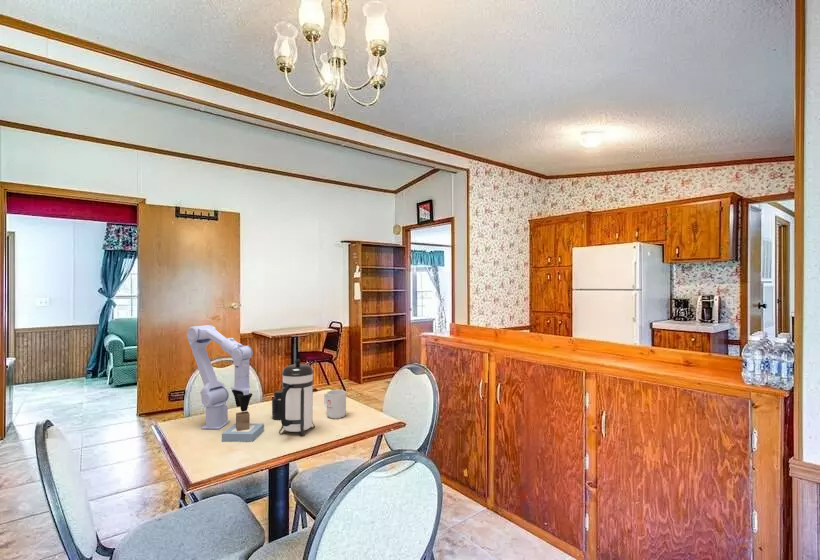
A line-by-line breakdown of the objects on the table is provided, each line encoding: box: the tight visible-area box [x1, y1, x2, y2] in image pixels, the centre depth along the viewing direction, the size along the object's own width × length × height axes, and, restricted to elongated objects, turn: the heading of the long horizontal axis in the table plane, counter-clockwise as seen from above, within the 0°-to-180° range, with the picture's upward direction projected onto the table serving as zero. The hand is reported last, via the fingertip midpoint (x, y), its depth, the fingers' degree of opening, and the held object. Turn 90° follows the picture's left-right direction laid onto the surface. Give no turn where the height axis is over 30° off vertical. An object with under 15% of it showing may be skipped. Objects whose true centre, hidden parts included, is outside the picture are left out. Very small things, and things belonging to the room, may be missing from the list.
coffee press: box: [278, 358, 316, 437], centre depth 172 cm, size 17×16×30 cm
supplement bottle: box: [271, 389, 282, 421], centre depth 190 cm, size 7×7×12 cm
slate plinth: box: [221, 422, 265, 443], centre depth 167 cm, size 12×12×3 cm
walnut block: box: [235, 410, 251, 431], centre depth 167 cm, size 4×4×6 cm
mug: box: [323, 389, 347, 419], centre depth 194 cm, size 12×9×11 cm
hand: (241, 408), depth 172 cm, fingers open, 7 cm apart
